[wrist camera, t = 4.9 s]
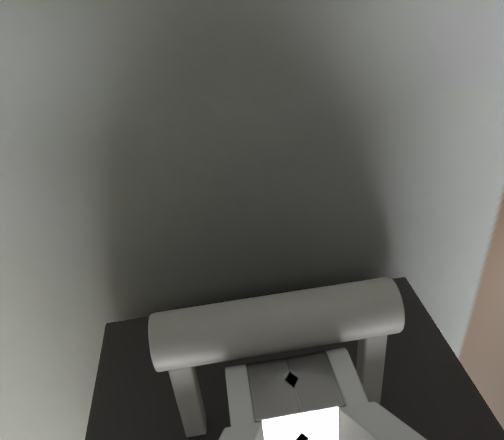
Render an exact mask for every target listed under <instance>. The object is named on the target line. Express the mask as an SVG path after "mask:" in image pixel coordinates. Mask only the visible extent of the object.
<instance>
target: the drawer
mask: <svg viewBox="0 0 504 440" xmlns="http://www.w3.org/2000/svg"><path fill="white" fill-rule="evenodd" d="M339 348H345V349H347V351H348V353H349V355H350V358H351V360H352V362H353V365H354V367H355V370H356V372H357V374H358V377H359V379H360V382H361V384H362V386H363V389H364V391H365V393H366V396H367V398H368V401H369V402H373V401H376V402H377V403H378V404H380V405H381V406H382V407H384V408H385V409H386V410H388V411H389V412H390V413H392V414H393V415H394V416H396V417H397V418H398V419H400V420H401V421H402V422H404V423H405V424H407V425H408V426H409V427H411V428H412V429H413V430H415V431H416V432H417V433H419V434H420V435H421V436H423V437H424V438H425V439H427V440H504V430H503V428H502V427H501V425H500V424H499V422H498V421H497V419H496V418H495V416H494V414H493V413H492V411H491V410H490V408H489V407H488V405H487V404H486V402H485V400H484V399H483V397H482V396H481V394H480V393H479V391H478V390H477V388H476V386H475V385H474V384H473V382H472V380H471V379H470V377H469V376H468V374H467V373H466V371H465V369H464V368H463V366H462V365H461V363H460V362H459V360H458V358H457V357H456V355H455V354H454V352H453V351H452V349H451V348H450V346H449V344H448V343H447V341H446V340H445V338H444V337H443V335H442V334H441V332H440V330H439V329H438V327H437V326H436V324H435V323H434V321H433V320H432V318H431V316H430V315H429V313H428V312H427V310H426V309H425V307H424V306H423V304H422V303H421V301H420V299H419V298H418V296H417V295H416V293H415V292H414V290H413V289H412V287H411V285H410V284H409V282H408V281H407V279H406V278H405V277H402V278H396V279H391V278H390V277H382V278H376V279H369V280H363V281H356V282H350V283H343V284H337V285H331V286H324V287H318V288H311V289H305V290H298V291H292V292H285V293H279V294H272V295H266V296H259V297H253V298H247V299H240V300H234V301H227V302H221V303H214V304H208V305H201V306H195V307H188V308H182V309H176V310H169V311H163V312H156V313H152V314H151V315H150V317H144V318H138V319H131V320H125V321H119V322H112V323H107V324H106V327H105V333H104V338H103V344H102V349H101V355H100V360H99V366H98V371H97V377H96V382H95V388H94V393H93V399H92V404H91V410H90V415H89V421H88V426H87V432H86V437H85V440H219V438H220V436H221V434H222V432H223V430H224V428H226V427H231V423H230V413H229V404H228V394H227V385H226V376H225V368H226V367H231V366H237V365H244V364H249V363H256V362H263V361H270V360H277V359H284V358H287V357H292V356H298V355H303V354H309V353H314V352H320V351H324V352H325V351H327V350H333V349H339ZM246 368H247V366H246Z"/></svg>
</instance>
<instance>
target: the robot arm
mask: <svg viewBox="0 0 504 440" xmlns="http://www.w3.org/2000/svg"><path fill="white" fill-rule="evenodd" d="M246 366H247V368H246ZM225 376H226V385H227V394H228V404H229V413H230V423H231V427H226V428H224V430H223V432H222V434H221V436H220V438H219V440H427V439H425V438H424V437H423V436H421V435H420V434H419V433H417V432H416V431H415V430H413V429H412V428H411V427H409V426H408V425H407V424H405V423H404V422H402V421H401V420H400V419H398V418H397V417H396V416H394V415H393V414H392V413H390V412H389V411H388V410H386V409H385V408H384V407H382V406H381V405H380V404H378V403H377V402H376V401H373V402H369V401H368V398H367V396H366V393H365V391H364V389H363V386H362V384H361V382H360V379H359V377H358V374H357V372H356V370H355V367H354V365H353V362H352V360H351V358H350V355H349V353H348V351H347V349H345V348H339V349H333V350H327V351H325V352H324V351H320V352H314V353H309V354H303V355H298V356H292V357H287V358H284V359H277V360H270V361H263V362H256V363H249V364H244V365H237V366H231V367H226V368H225Z"/></svg>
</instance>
